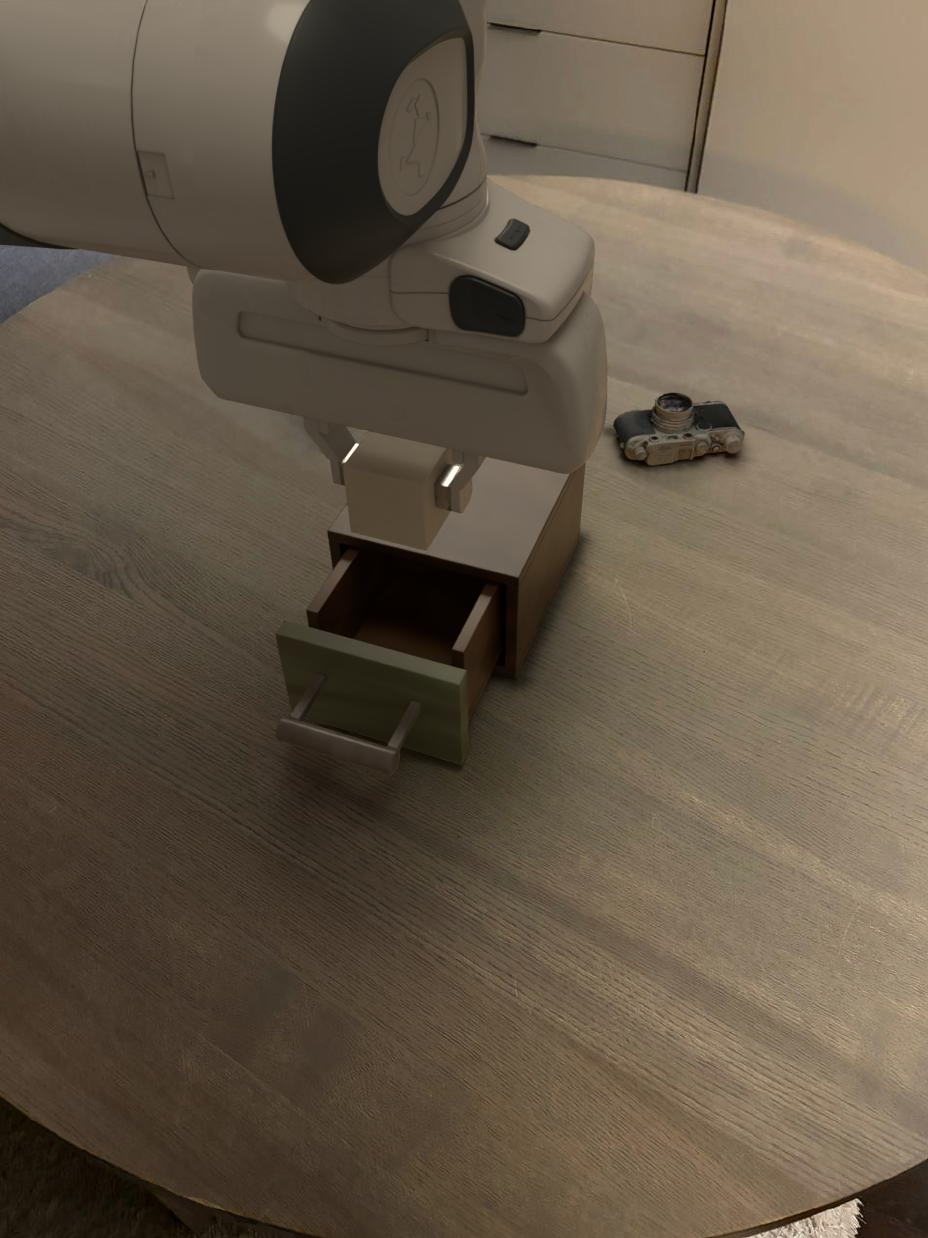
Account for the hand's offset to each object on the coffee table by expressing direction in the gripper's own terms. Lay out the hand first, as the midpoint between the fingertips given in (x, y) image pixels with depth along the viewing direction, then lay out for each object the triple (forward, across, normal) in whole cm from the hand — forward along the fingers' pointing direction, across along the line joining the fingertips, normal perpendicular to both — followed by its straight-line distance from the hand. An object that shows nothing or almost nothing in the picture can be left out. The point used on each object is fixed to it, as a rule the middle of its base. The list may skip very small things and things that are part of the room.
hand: (403, 491), depth 55 cm
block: (+2, 0, 0) cm, 2 cm away
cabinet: (+17, -1, +11) cm, 20 cm away
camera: (+17, +9, +33) cm, 38 cm away
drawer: (+16, -1, 0) cm, 16 cm away
